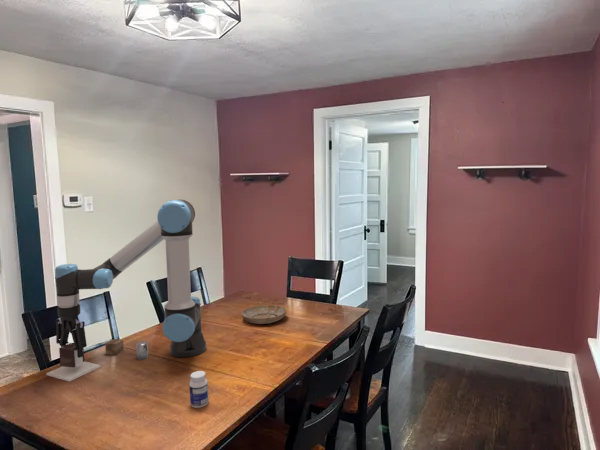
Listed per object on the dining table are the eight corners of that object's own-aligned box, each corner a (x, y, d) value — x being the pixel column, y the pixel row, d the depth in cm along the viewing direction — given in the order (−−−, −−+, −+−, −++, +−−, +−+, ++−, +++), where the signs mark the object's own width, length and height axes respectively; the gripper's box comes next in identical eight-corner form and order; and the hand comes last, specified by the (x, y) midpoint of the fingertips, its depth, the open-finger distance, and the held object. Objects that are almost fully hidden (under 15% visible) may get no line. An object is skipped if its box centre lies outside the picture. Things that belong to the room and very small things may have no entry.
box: (73, 368, 154) (72, 349, 153) (59, 366, 155) (58, 348, 154) (85, 361, 160) (83, 343, 159) (71, 360, 161) (70, 342, 160)
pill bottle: (192, 399, 134) (190, 370, 133) (209, 398, 135) (208, 369, 134) (188, 409, 128) (187, 378, 128) (207, 407, 129) (205, 377, 128)
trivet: (100, 367, 161) (100, 365, 161) (69, 381, 149) (69, 379, 149) (78, 361, 166) (77, 359, 166) (46, 375, 155) (46, 373, 155)
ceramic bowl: (295, 317, 217) (295, 308, 216) (268, 331, 197) (268, 320, 197) (260, 311, 229) (260, 302, 229) (232, 323, 210) (232, 313, 209)
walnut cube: (123, 350, 177) (123, 339, 176) (116, 355, 172) (115, 344, 172) (113, 350, 178) (112, 339, 177) (106, 354, 173) (105, 343, 172)
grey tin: (150, 356, 170) (149, 342, 170) (142, 360, 166) (141, 346, 166) (142, 354, 172) (142, 340, 172) (134, 358, 168) (133, 344, 168)
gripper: (95, 305, 155) (98, 364, 157) (61, 299, 163) (65, 355, 165) (77, 310, 148) (80, 372, 150) (42, 304, 156) (46, 362, 158)
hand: (72, 363), depth 158 cm, fingers closed on box, 7 cm apart
